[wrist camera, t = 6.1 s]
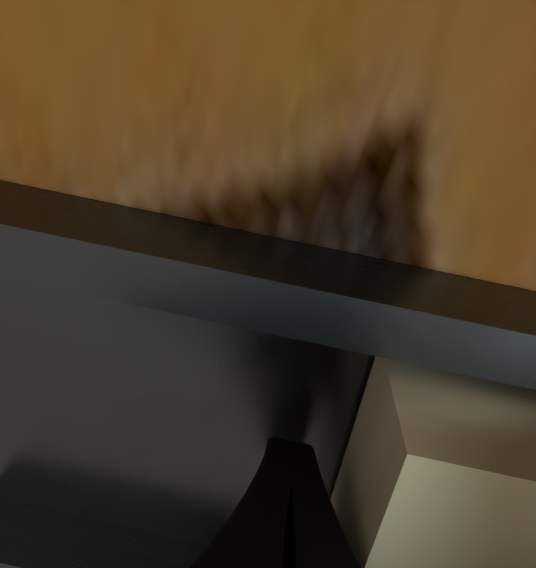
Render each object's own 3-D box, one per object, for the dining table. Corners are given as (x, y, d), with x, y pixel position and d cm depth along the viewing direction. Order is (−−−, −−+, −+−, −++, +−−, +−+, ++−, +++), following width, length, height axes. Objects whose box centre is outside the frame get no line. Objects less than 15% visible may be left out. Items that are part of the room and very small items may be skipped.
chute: (670, 319, 12) (772, 384, 10) (506, 609, 17) (544, 712, 14) (-10, 178, 13) (-100, 202, 10) (2, 498, 17) (-59, 577, 14)
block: (620, 392, 12) (756, 528, 8) (501, 606, 15) (561, 775, 11) (379, 342, 12) (407, 453, 8) (310, 564, 15) (307, 718, 11)
